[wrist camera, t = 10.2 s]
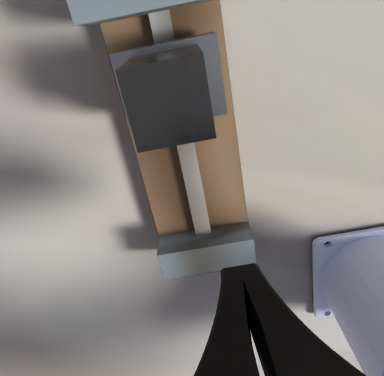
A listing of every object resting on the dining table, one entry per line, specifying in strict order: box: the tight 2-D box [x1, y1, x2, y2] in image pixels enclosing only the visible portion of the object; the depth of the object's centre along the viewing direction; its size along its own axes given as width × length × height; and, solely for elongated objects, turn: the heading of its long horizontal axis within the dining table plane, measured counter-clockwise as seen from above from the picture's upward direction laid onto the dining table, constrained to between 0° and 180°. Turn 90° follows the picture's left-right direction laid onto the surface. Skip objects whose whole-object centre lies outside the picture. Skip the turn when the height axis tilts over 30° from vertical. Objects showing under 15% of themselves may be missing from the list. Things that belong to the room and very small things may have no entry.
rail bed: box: [100, 0, 257, 280], centre depth 18 cm, size 6×20×3 cm, turn 10°
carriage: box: [109, 31, 228, 153], centre depth 14 cm, size 5×4×6 cm
